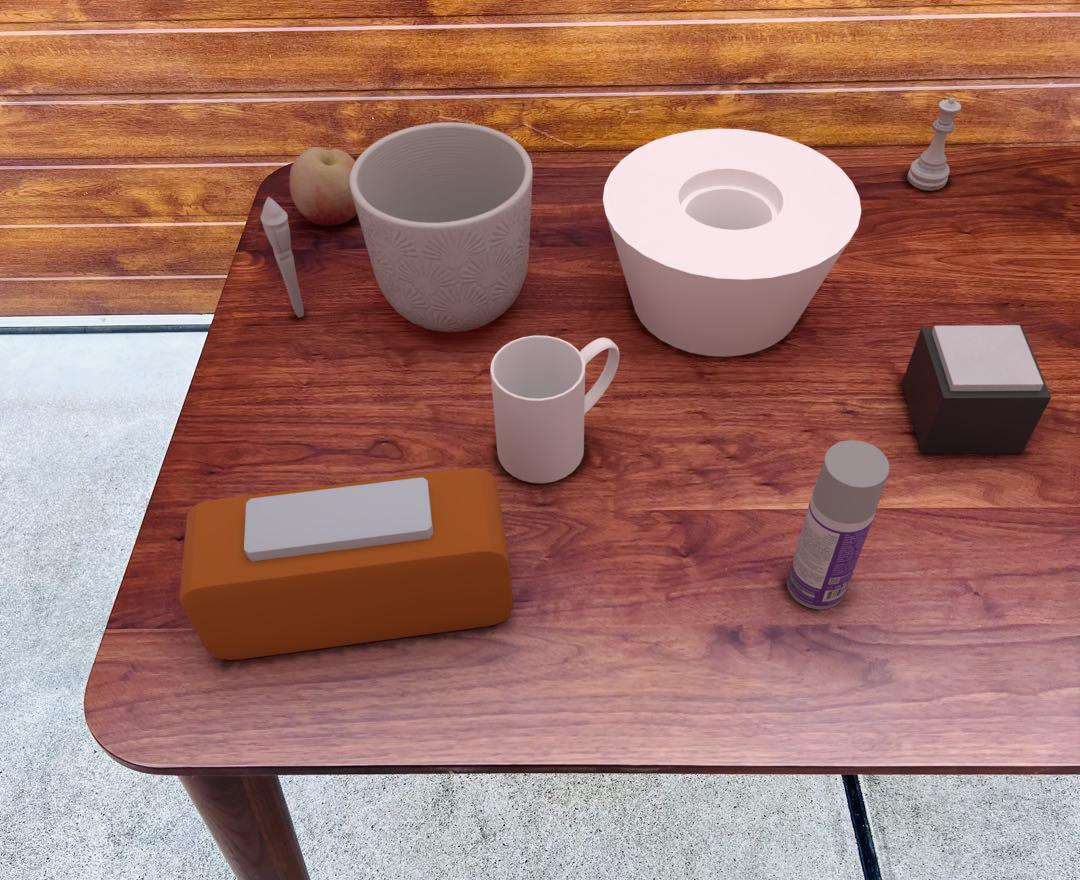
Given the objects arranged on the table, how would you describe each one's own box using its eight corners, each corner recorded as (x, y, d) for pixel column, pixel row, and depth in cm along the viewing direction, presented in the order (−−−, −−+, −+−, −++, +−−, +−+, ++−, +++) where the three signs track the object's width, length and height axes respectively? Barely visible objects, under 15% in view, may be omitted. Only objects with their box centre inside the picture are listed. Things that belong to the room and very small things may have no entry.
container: (842, 564, 83) (887, 440, 71) (847, 611, 80) (895, 490, 69) (785, 561, 84) (820, 436, 72) (788, 607, 81) (825, 486, 69)
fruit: (364, 238, 112) (351, 174, 106) (292, 238, 112) (276, 174, 106) (373, 196, 117) (361, 132, 110) (304, 196, 117) (289, 133, 111)
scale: (999, 383, 96) (1029, 319, 90) (1025, 453, 90) (1059, 390, 84) (901, 383, 96) (923, 319, 90) (920, 453, 91) (946, 390, 84)
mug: (528, 498, 88) (524, 414, 80) (481, 444, 93) (472, 358, 84) (638, 440, 92) (645, 354, 84) (588, 390, 96) (590, 304, 88)
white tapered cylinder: (880, 340, 100) (913, 238, 90) (662, 408, 95) (672, 308, 85) (760, 209, 113) (778, 108, 104) (564, 262, 108) (563, 161, 99)
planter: (564, 325, 102) (563, 193, 90) (409, 377, 98) (386, 247, 86) (497, 234, 112) (488, 104, 100) (352, 279, 108) (324, 149, 96)
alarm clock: (502, 542, 86) (494, 452, 77) (515, 624, 81) (507, 538, 72) (217, 579, 84) (174, 491, 75) (211, 665, 79) (165, 582, 70)
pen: (306, 304, 105) (275, 185, 94) (317, 318, 104) (286, 199, 93) (284, 313, 105) (250, 194, 93) (294, 327, 103) (261, 208, 92)
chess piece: (951, 176, 116) (979, 93, 108) (938, 195, 114) (966, 112, 106) (914, 165, 118) (939, 82, 110) (901, 184, 116) (925, 101, 108)
